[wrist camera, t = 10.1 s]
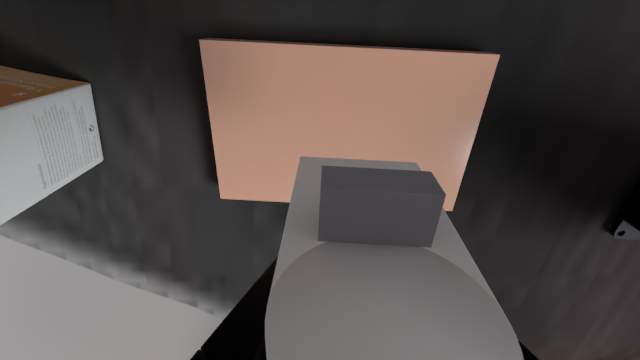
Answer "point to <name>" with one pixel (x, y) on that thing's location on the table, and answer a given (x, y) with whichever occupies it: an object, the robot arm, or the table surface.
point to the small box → (43, 137)
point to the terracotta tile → (339, 109)
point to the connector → (378, 272)
